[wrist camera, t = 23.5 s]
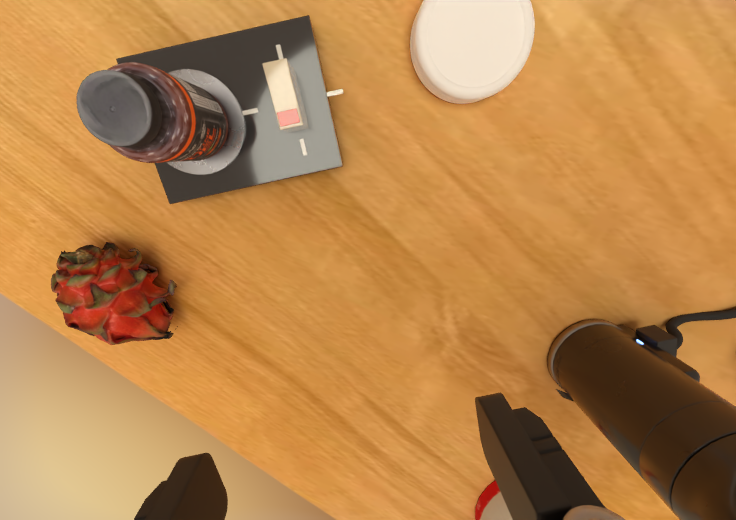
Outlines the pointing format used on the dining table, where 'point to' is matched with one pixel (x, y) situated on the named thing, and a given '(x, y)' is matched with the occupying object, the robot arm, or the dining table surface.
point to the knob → (286, 95)
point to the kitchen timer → (492, 505)
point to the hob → (256, 106)
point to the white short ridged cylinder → (470, 46)
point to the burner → (233, 117)
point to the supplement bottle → (151, 114)
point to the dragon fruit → (111, 295)
